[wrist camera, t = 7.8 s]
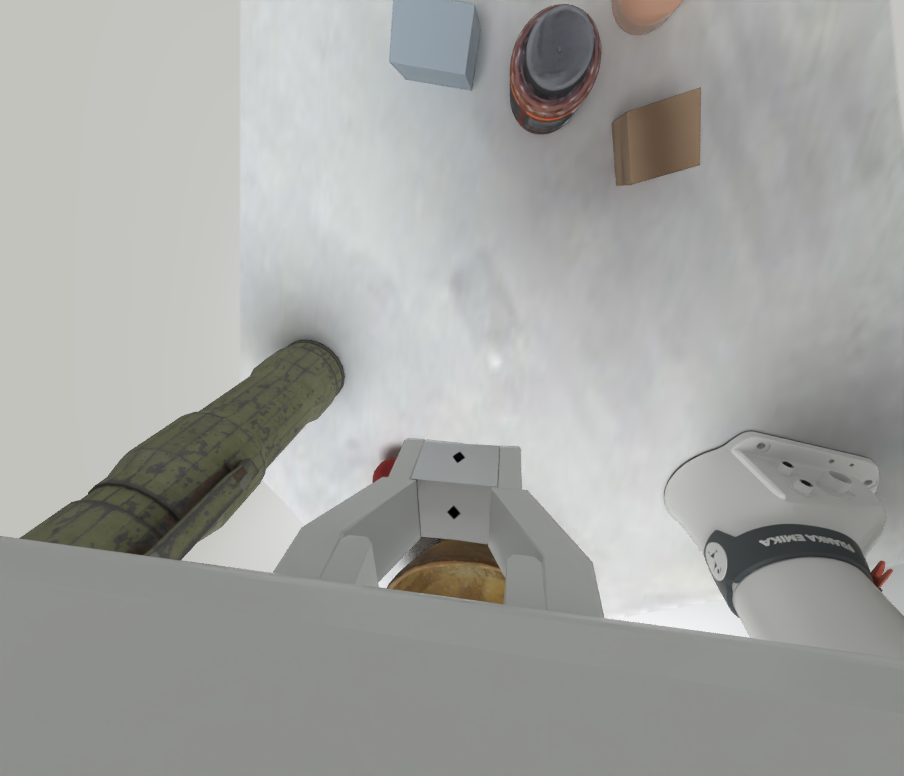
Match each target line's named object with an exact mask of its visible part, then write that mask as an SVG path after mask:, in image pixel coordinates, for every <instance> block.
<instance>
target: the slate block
mask: <svg viewBox="0 0 904 776" xmlns="http://www.w3.org/2000/svg"><path fill="white" fill-rule="evenodd" d="M479 37H480V26H479V22H478V17H477V12H476V7H475V4H472V3H466V2H459V1H453V0H393V12H392V28H391V44H390V60H389V62H390V63H391V64H392V65H393V66H394V67H395V69H396V70H397V71H398V72H399V73H400V74H401V75H402V76H403V77H404V78H405V79H406V80H412V81H418V82H424V83H430V84H435V85H441V86H447V87H453V88H459V89H464V90H470V91H471V90H472V83H473V77H474V70H475V63H476V57H477V50H478V43H479Z"/></svg>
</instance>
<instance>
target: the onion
mask: <svg viewBox="0 0 904 776" xmlns="http://www.w3.org/2000/svg"><path fill="white" fill-rule="evenodd" d="M396 459H397V458H390V459H387V460H385V461H383V462H381V464H380V465H379V466H378V467H377V469H376V470H375V472H374V475H373V483H374V482H375V481H377V480H378V479H380V478H382V477H388V476H389V474H390V472H391V470H392V468H393V465H394V463H395V461H396Z"/></svg>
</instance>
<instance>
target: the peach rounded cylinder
mask: <svg viewBox="0 0 904 776" xmlns="http://www.w3.org/2000/svg"><path fill="white" fill-rule="evenodd" d="M682 1H683V0H612V10H613V15H614V18H615V20H616V22H617V24H618V25H619V26H620V28H621V29H623V30H624V31H625V32H627V33H629V34H633V35H642V34H646V33H649V32H651V31H653V30H655V29H656V28H658V27H659V26H660V25H662V24H663V23H664V22H665V21H666V20H667V18H668V17H669V16H670V15H671V14H672V13H673V11H674V10H675V9H676V8H677V7H678V6H679V5H680V3H681V2H682Z"/></svg>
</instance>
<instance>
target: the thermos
mask: <svg viewBox="0 0 904 776" xmlns="http://www.w3.org/2000/svg"><path fill="white" fill-rule="evenodd" d="M344 377H345V376H344V371H343V366H342V365H341V363H340V361H339V359H338V357H337V356H336V355H335V354H334V353H333V352H332V351H331V350H330V349H329V348H327V347H326V346H324V345H322V344H321V343H318V342H314V341H311V340H300V341H297V342H294V343H292V344H290V345H289V346H288V347H287V348H284V349H281V350H279V351H277V352H276V353H274V354H273V355H271V356H270V357H268V358H267V359H266V360H264V361H263V362H262V363H261V364H259V365H258V366H257V367H256V368H254V369H253V371H252V373H251V375H250V377H248V378H247V379H245V380H244V381H242V382H241V383H240V384H238V385H237V386H235V387H234V388H232V389H231V390H229V391H228V392H226V393H225V394H224V395H222V396H221V397H219V398H218V399H216V400H215V401H213V402H212V403H210V404H209V405H208V406H206V407H205V408H203V409H202V410H200V411H199V412H193V413H190V414H187V415H184V416H181V417H180V418H178V419H177V420H175V421H174V422H172V423H171V424H169V425H168V426H166V427H165V428H164V429H162V430H160V431H159V432H158V433H156V434H154V435H153V436H151V437H150V438H148V439H147V440H146V441H144V442H143V443H141V444H139V445H138V446H137V447H135V448H134V449H132V450H130V451H129V452H128V453H127V454H126V455H125V456H124V457H123V458H122V459H121V460H120V461H119V462H118V464H117V465H116V466H115V467H114V469H113V470H112V471H111V473H110V474H109V475H108V477H107V478H105V479H104V480H103V481H101V482H100V483H98V484H97V485H95V486H94V487H93V488H92V489H91V490H90V491H89V492H88V495H87V496H85V497H84V498H82V499H81V500H79V501H75V502H71V503H70V504H68V505H67V506H65V507H64V508H62V509H61V510H60V511H58V512H57V513H55V514H54V515H52V516H51V517H49V518H48V519H47V520H45V521H44V522H42V523H41V524H39V525H38V526H37V527H35V528H34V529H33V530H31V531H29V532H28V533H26V534H25V535H24V536H22V537H21V538H19V539H26V540H33V541H41V542H48V543H56V544H63V545H70V546H78V547H85V548H92V549H100V550H107V551H114V552H122V553H129V554H137V555H144V556H151V557H159V558H166V559H173V560H182V558H183V557H184V556H185V555H186V554H187V553H188V552H189V551H190V550H191V549H192V548H193V546H194V545H195V544H196V543H197V542H198V541H200V540H202V539H204V538H205V537H207V536H208V535H210V534H212V533H213V532H214V531H216V530H218V529H219V528H221V527H222V526H223V525H224V524H225V523H226V522H227V520H228V519H229V518H230V517H231V516H232V515H233V514H234V512H235V511H236V510H237V509H238V508H239V507H240V505H241V504H242V503H243V502H244V501H245V500H246V499H247V498H248V496H249V495H250V494H251V493H252V492H253V491H254V490H255V489H256V487H257V486H258V485H259V484H260V482H261V480H262V479H263V477H264V475H265V471H266V468H267V467H268V466H269V465H270V464H271V463H272V462H273V461H274V460H275V458H276V457H277V456H278V455H279V454H280V453H281V452H282V451H283V450H284V448H285V447H286V446H287V445H288V444H289V443H290V442H291V441H292V440H293V438H294V437H295V436H296V435H297V434H298V433H299V432H300V431H301V430H302V429H303V427H304V426H305V425H306V424H307V423H309V422H311V421H314V420H316V419H318V418H319V417H320V416H321V414H322V413H323V412H324V411H325V410H326V409H327V408H328V406H329V405H330V404H331V403H332V401H333V400H334V398H335V396H336V395H337V394H338V393H339V392H340V390H341V388H342V387H343V384H344Z"/></svg>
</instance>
